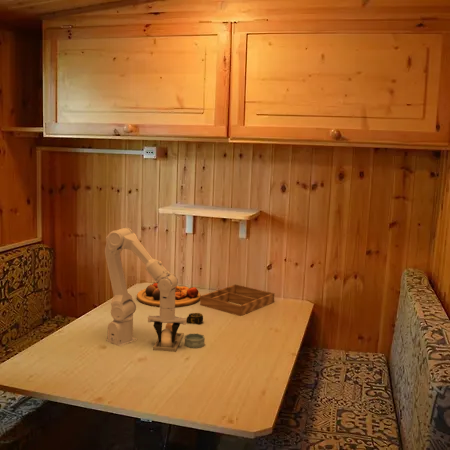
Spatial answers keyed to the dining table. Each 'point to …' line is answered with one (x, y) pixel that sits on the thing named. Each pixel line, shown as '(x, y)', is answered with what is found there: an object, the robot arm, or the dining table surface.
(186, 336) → the octagonal bowl
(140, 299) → the wooden plate with food
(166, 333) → the tan rounded cylinder
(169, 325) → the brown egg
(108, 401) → the dining table surface
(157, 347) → the divided tray
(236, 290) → the wooden compartment tray
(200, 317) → the tape measure
